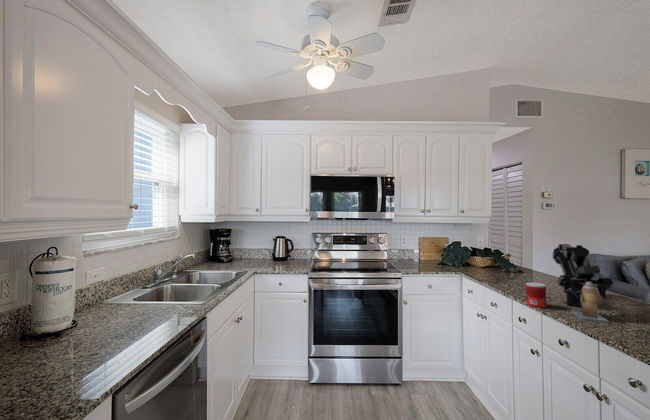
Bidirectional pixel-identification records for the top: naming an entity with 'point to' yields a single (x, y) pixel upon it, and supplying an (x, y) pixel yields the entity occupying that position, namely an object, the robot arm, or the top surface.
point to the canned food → (536, 295)
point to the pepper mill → (589, 300)
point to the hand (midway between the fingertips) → (591, 298)
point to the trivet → (599, 318)
